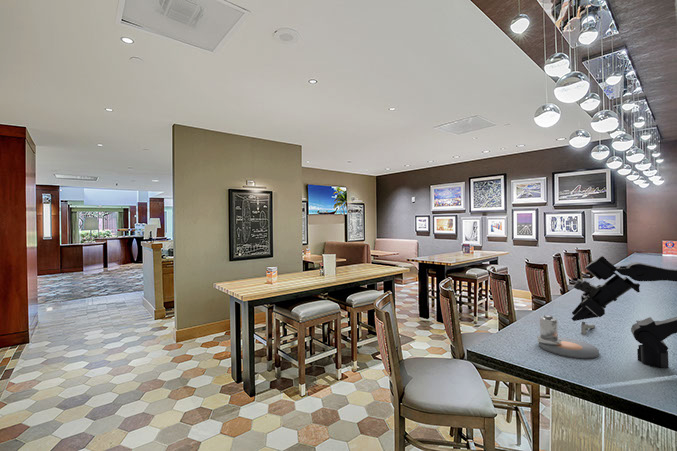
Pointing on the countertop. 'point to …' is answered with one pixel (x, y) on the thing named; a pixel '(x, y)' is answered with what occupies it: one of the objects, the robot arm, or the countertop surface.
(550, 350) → the turntable
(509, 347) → the countertop surface
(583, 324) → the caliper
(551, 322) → the cover
